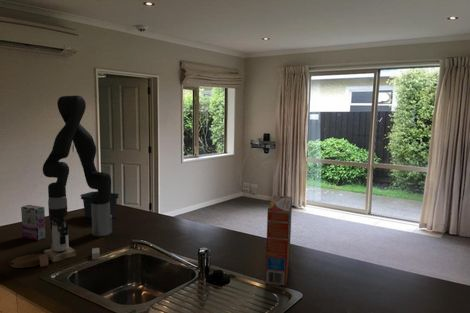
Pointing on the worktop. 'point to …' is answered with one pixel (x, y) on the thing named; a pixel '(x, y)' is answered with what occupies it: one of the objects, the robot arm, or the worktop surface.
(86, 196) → the storage bin
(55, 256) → the oak pad
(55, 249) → the can
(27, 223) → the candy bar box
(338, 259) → the worktop surface
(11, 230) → the worktop surface
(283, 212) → the pasta box
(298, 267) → the worktop surface
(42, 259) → the brick terracotta
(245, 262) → the worktop surface
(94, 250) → the brick cream
